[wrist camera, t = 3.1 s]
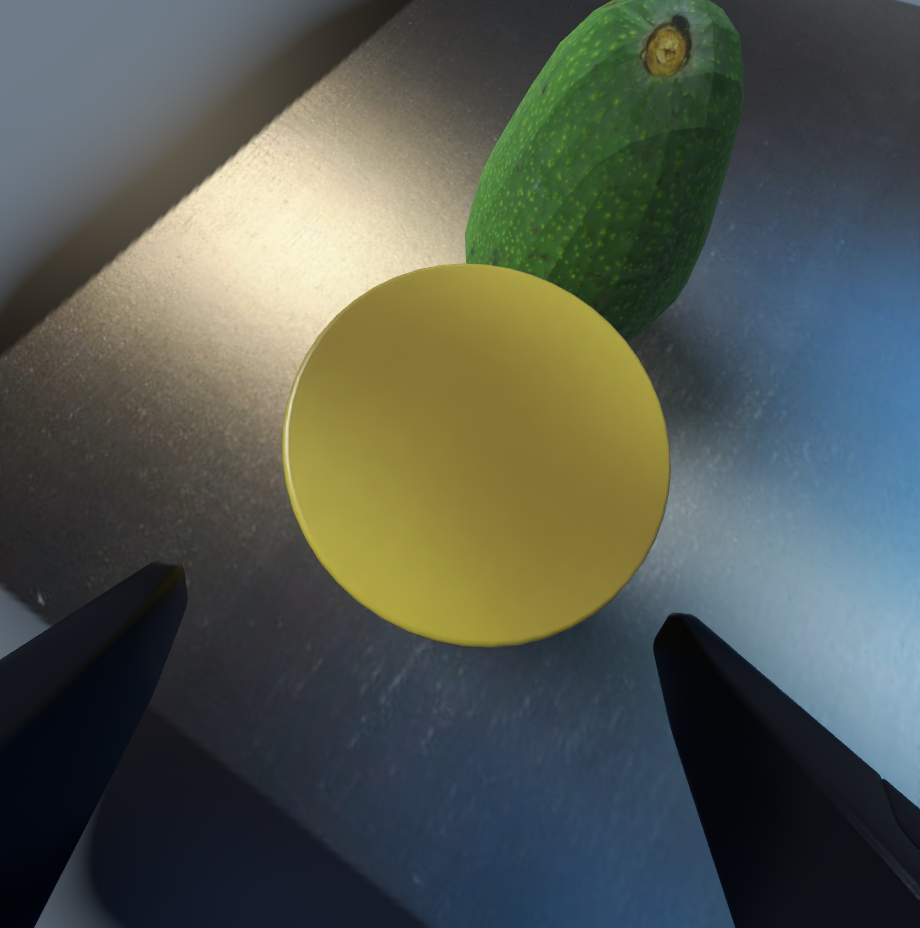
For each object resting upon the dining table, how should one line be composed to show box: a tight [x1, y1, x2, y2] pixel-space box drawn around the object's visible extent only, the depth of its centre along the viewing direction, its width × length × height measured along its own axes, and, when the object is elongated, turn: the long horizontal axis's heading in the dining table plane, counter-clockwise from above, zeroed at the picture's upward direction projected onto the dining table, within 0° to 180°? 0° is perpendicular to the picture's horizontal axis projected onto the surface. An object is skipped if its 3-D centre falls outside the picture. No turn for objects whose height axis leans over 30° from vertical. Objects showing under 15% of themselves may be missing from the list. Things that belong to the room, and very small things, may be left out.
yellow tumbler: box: [282, 264, 671, 648], centre depth 13 cm, size 5×5×13 cm
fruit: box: [465, 0, 743, 342], centre depth 16 cm, size 8×8×12 cm
